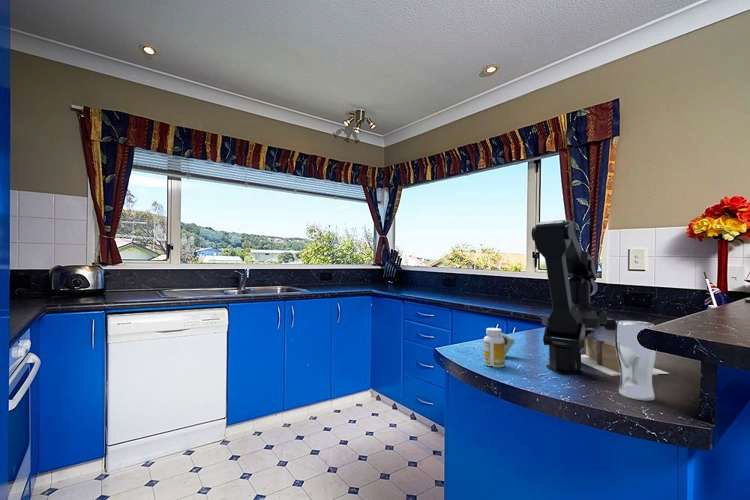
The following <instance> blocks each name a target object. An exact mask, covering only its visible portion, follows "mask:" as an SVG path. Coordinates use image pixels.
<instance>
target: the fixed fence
mask: <svg viewBox="0 0 750 500" xmlns="http://www.w3.org/2000/svg"><path fill="white" fill-rule="evenodd" d="M597 364H598V365H601V366H603V367H606V368H608V369H611V370H613V371H615V372H618V373H620V368H619V363H618V359H617V354H616V349H615V345H612V344H609V343H605V341H604V340H599V341H597Z"/></svg>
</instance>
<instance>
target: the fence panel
mask: <svg viewBox="0 0 750 500" xmlns="http://www.w3.org/2000/svg"><path fill="white" fill-rule="evenodd" d="M597 341H600V340H599V339H598V338H596V337H594V336H592V335H591V334H588V335H587V337H586V339H585V343H584V355H588V356H590V357H591V358H592V359H594V360H595V361H597Z"/></svg>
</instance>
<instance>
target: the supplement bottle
mask: <svg viewBox="0 0 750 500" xmlns="http://www.w3.org/2000/svg"><path fill="white" fill-rule="evenodd" d="M485 330H486V331H485V332H486V335H485V336H484V337H483V363H485V364H486V365H489V366H493V367H492V368H503V367H505V366H506V355H505V343H504V339H503V338H502V337H501V335H502V333H503V332H502V329H501V328H497V327H487V328H486V329H485ZM485 364H484V365H485ZM486 365H485V366H486ZM489 366H488V367H489Z"/></svg>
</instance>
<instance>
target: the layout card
mask: <svg viewBox="0 0 750 500" xmlns="http://www.w3.org/2000/svg"><path fill="white" fill-rule="evenodd" d="M581 364H584V365H586V366H589V367H591V368H593V369H596V370H597V371H600V372H602V373H605V374H607V375H609V376H612V377H621V374H620V373H618V372H615V371H613V370H611V369H608V368H606V367H603V366H601V365H598V364H597V361H595V360H594V359H592V358H591V357H590V356H588V355H587V354H581ZM658 374H669V375H670V373H669V372H667V371H664V370H661V369H658V368H655V367H654V368H653V373H652V376H659V375H658Z"/></svg>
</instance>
